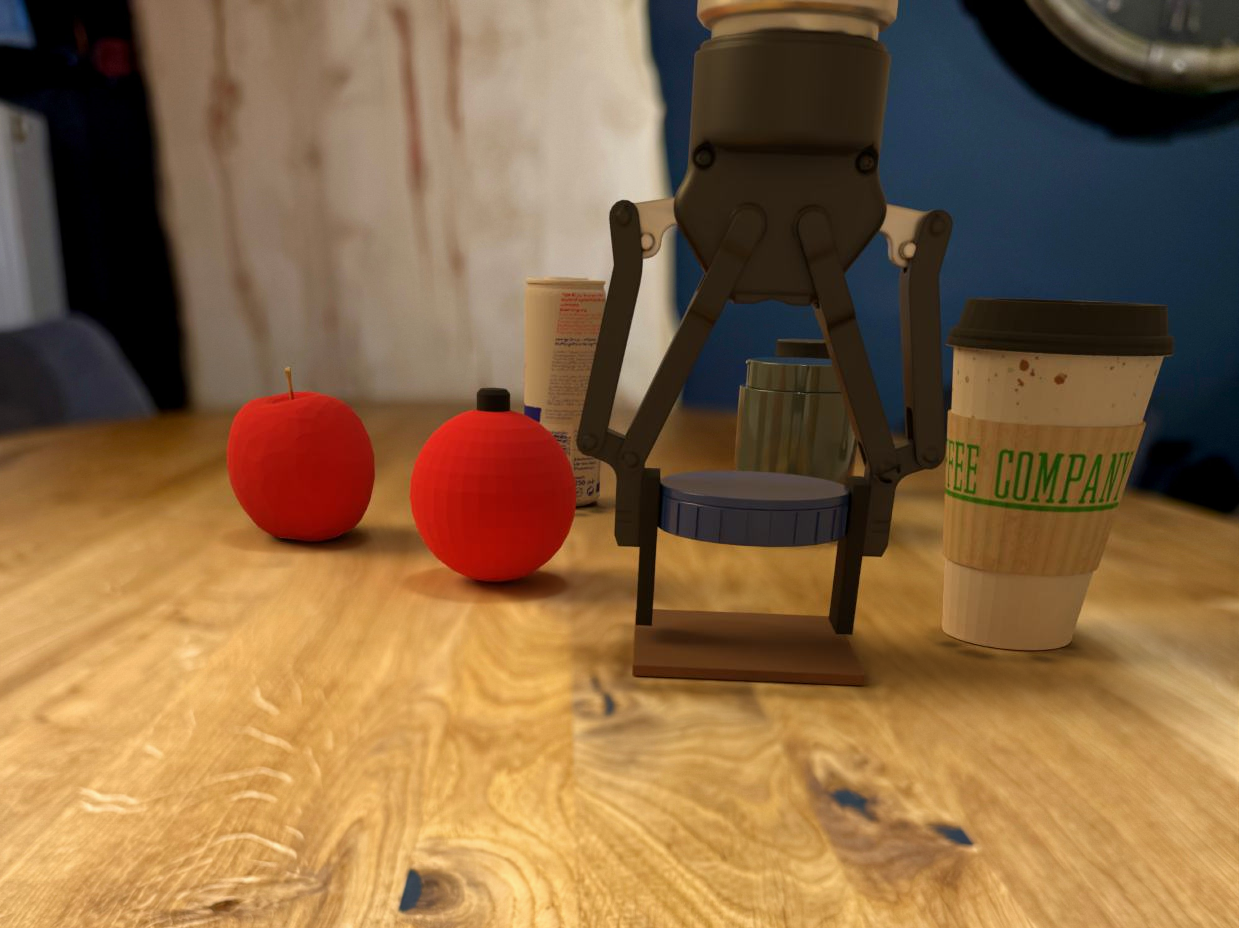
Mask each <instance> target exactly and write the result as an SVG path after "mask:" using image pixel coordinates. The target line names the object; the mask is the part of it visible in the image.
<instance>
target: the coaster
mask: <svg viewBox="0 0 1239 928" xmlns="http://www.w3.org/2000/svg"><path fill="white" fill-rule="evenodd" d="M635 624H636V617H635V620H634V637H633V651H632V666H631V668H632V669H631V676H634V677H635V676H637V677H657V678H658V677H659V678H681V679H701V680H702V679H703V680H704V679H706V680H726V681H727V680H728V681H748V682H750V681H751V682H773V683H774V682H775V683H794V684H795V683H796V684H798V683H799V684H817V685H840V686H841V685H843V686H862V687H863V686H864V685H865V682H866V674H865V672H864V670H863V668H862V666H861V664H860V662H859V659H858V658H857V655H856V654H855V652H854V650H853V648H852V646H851V644H850V642H849V639H848V638H847V635H845V634H836V633H835V631H834V629H833V627H832V625H831V623H830V621H829V615H812V614H811V615H809V614H808V615H806V614H788V613H787V614H786V613H785V614H784V613H763V612H762V613H757V612H737V611H736V612H735V611H714V610H712V611H711V610H685V609H662V608H653V616H652V626H642V625H635Z"/></svg>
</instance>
